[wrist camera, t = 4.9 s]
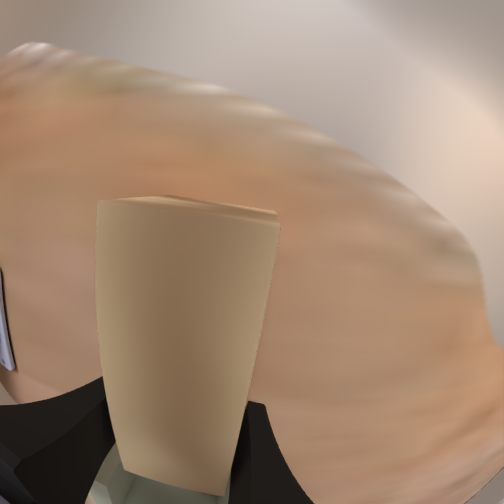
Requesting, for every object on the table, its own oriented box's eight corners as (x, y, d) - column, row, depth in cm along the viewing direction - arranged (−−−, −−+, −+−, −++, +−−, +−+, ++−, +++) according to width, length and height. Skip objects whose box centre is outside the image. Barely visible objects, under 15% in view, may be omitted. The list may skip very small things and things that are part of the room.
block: (121, 476, 15) (101, 516, 10) (114, 422, 13) (82, 473, 9) (232, 509, 15) (225, 554, 10) (258, 466, 13) (253, 528, 9)
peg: (160, 399, 13) (124, 469, 8) (171, 195, 10) (98, 200, 6) (237, 416, 12) (224, 496, 8) (276, 211, 10) (280, 228, 5)
